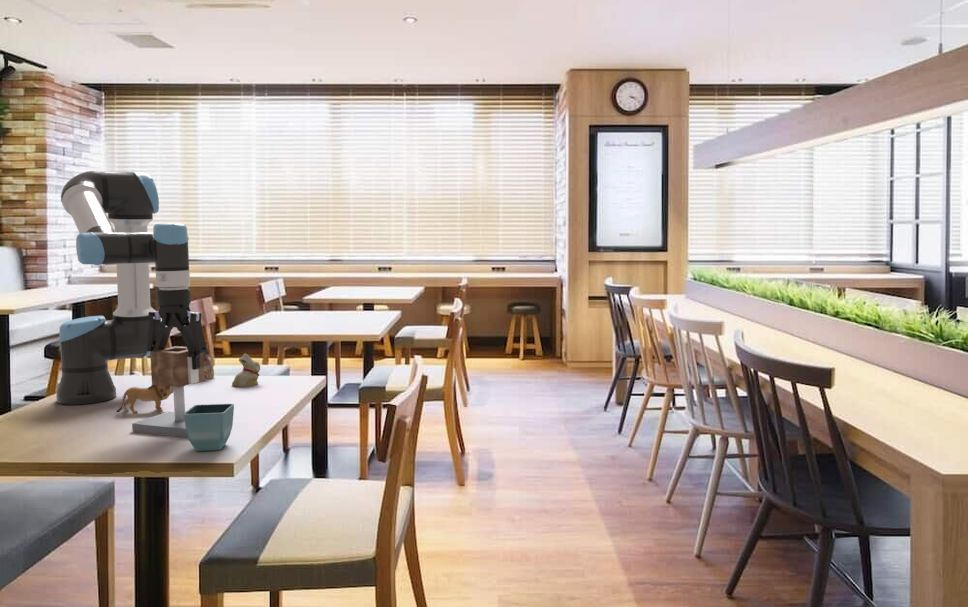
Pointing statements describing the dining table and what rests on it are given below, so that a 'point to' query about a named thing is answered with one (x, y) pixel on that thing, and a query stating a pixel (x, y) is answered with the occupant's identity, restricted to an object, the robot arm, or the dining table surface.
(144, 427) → the spindle stand
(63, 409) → the dining table surface
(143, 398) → the lion figurine
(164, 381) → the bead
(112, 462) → the dining table surface
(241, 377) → the chocolate bunny
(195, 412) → the flower pot
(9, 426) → the dining table surface
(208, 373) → the figurine
